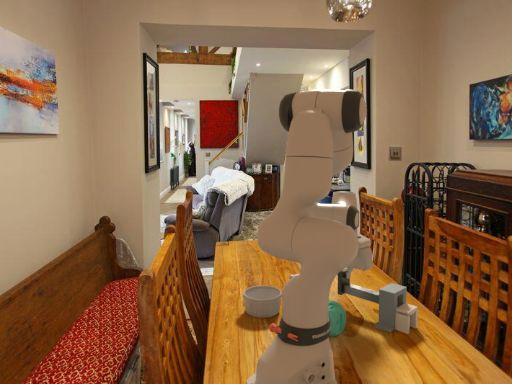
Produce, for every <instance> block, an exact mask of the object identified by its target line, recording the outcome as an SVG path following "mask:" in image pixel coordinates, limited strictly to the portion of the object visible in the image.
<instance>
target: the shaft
mask: <svg viewBox="0 0 512 384" xmlns="http://www.w3.org/2000/svg"><path fill="white" fill-rule="evenodd" d="M347 271H348V269H347V267H346V268H344V269H343V270H341V271H340V272H339V273H338V276H337V295H340V296H344V295H345V294H347V295H349V296H353V297H355V298H359V299H362V300H365V301H368V302H371V303H374V304H378V305H379V290H374V289H371V288H367V287H364V286H361V285H358V284H353V283H351V277H350V278H349V279H347V278H344V273H346V272H347Z"/></svg>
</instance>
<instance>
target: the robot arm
mask: <svg viewBox="0 0 512 384" xmlns="http://www.w3.org/2000/svg"><path fill="white" fill-rule="evenodd" d="M367 110H368V109H367V103H366V100H365V97H364V94H362V92H360V91H359V90H357V89H347V88H346V89H345V90H343V89H342V90H341V89H322V88H320V89H319V88H318V89H311V90H304V91H292V92H290V93H287V94H285V95H284V96H283V98H282V99H281V100H280V103H279V107H278V116H279V117H278V119H279V122H280V124H281V126H282V128H283V130H285V132H288V134H287V139H286V140H287V141H286V148H285V163H284V173H283V174H284V176H283V185H282V190H281V194H280V197H279V199H278V201H277V204H276V206H274V208H273V210H272V211H271V212H270V213H269V214H268V215H267V216H265V217H264V218H263V219H262V220H261V222H260V223H259V226H258V228H257V232H256V239H257V244H258V246H259V248H260V249H261V251H262V252H264V253H266V254H268V255H270V256H272V257H275V258H276V259H281V260H285V261H289V262H295V263H298V264H299V265H300V270H299V274H300V275H298V276H295V277H293V278H291V279H290V280H289V279H288V280H287V281H286V282H285V284H284V285H283V288H282V289H281V292H282V297H281V306H282V307H281V309H282V310H281V316H280V319H279V324H276V323H274V322H273V323H271V324H270V325H269V328H268V330H269V331H270V332H271V333H274V334H275V335H276V336H275V337H274V338H273V339H272V341H271V342H270V343H269V344H268V346H267V347H266V349H265V350H264V351H263V353H262V354H261V355H260V356H259V358H258V359H257V362H256V369H255V372H254V373H253V374H252V375H251V376H250V377H248V378H247V379H246V381H245V383H246V384H338V381H337V379H336V372H335V365H334V356H333V349H332V346H331V342H330V337H329V336H330V329H331V325H330V319H329V317H328V306H329V301H330V290H331V287H332V284H333V282H334V279H335V278H336V276H337V277H338V273H339V272H340V271H341V270H343V269H346V268H347V269H348V271H347V272H346V273H344V278H347V279H349V278H350V279H351V276H352V274H351V273H353V271H354V269H356V270H361V271H364V272H366V271H369V270H371V269H372V268H373V251H372V248H371V247H370V246H371V244H372V240H371V239H370V238H369V237H366V236H364V235H363V234H361V233H359V232H358V228H359V227H360V211H359V209H358V203H357V202H358V200H357V196H356V195H357V194H356V193H355V192H353V191H348V190H347V191H346V190H344V191H343V190H342V191H341V190H339V191H333V194H332V199H331V203H320V202H319V201H321V200H323V199H325V198H326V197H327V196H328V195H329V193H330V192H331V190H332V184H333V183H332V181H333V180H332V178H333V176H336V175H338V174H340V173H341V172H343V171H344V170H346V169H347V168H348V167H349V166H350V165H351V163H352V161H353V157H354V138H353V133H354V132H357V131H358V130H360V129H361V128H362V127H363V126H364V123H365V120H366V118H367V114H368V113H367V112H368V111H367Z"/></svg>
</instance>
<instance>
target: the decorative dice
mask: <svg viewBox="0 0 512 384" xmlns="http://www.w3.org/2000/svg"><path fill="white" fill-rule="evenodd" d="M328 317H329V319H330V325H331V329H330V336H329V338H330V337H337V336H339V335H341V334H342V332H343V331H344V329H345V327H346V324H347V313H346V310H345V308H344V306H342V304H340V303H339V302H336V301H334V300H329V306H328Z"/></svg>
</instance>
